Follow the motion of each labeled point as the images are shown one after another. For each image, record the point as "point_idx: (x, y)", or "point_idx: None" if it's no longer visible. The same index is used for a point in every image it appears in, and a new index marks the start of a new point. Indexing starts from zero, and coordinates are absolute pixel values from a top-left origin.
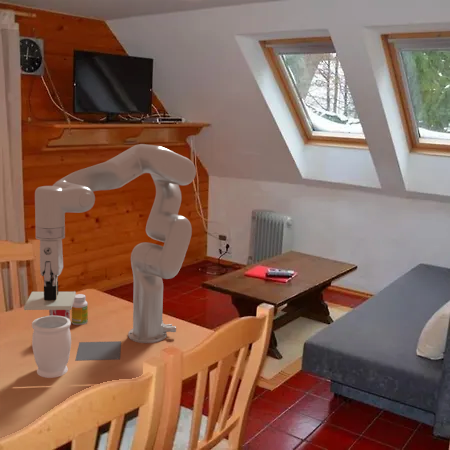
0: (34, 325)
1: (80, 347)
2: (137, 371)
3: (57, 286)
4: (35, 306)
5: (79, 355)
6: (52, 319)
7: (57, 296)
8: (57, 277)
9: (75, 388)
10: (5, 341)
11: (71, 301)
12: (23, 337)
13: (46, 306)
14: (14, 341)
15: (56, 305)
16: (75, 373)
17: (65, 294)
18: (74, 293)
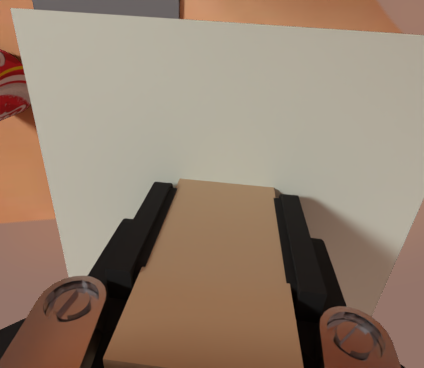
0: None
1: (76, 3)
2: None
3: (147, 233)
4: (375, 306)
5: (140, 4)
6: None
7: (170, 177)
8: (44, 308)
9: (371, 9)
10: (54, 216)
11: (332, 42)
12: (23, 180)
13: (399, 247)
14: (51, 198)
15: (411, 181)
16: (264, 14)
17: (111, 112)
18: (71, 19)
